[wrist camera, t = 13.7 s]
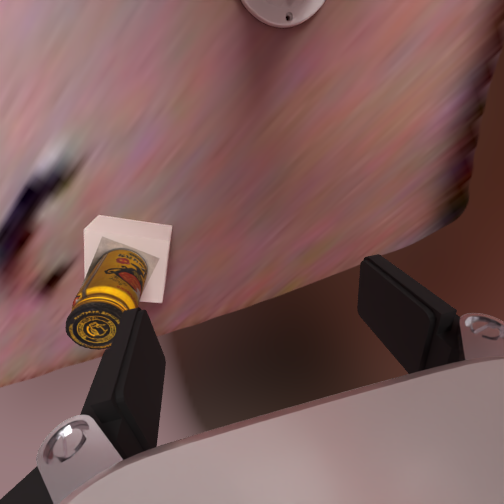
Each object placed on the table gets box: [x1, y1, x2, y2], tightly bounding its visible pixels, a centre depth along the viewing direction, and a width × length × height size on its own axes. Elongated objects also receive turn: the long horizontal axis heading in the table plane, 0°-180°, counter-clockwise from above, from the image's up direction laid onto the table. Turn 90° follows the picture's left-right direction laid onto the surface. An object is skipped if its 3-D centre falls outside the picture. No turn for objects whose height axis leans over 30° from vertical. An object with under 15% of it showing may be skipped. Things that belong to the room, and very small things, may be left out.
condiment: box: [66, 236, 160, 350], centre depth 30 cm, size 7×8×12 cm
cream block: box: [84, 215, 172, 303], centre depth 38 cm, size 10×10×6 cm
